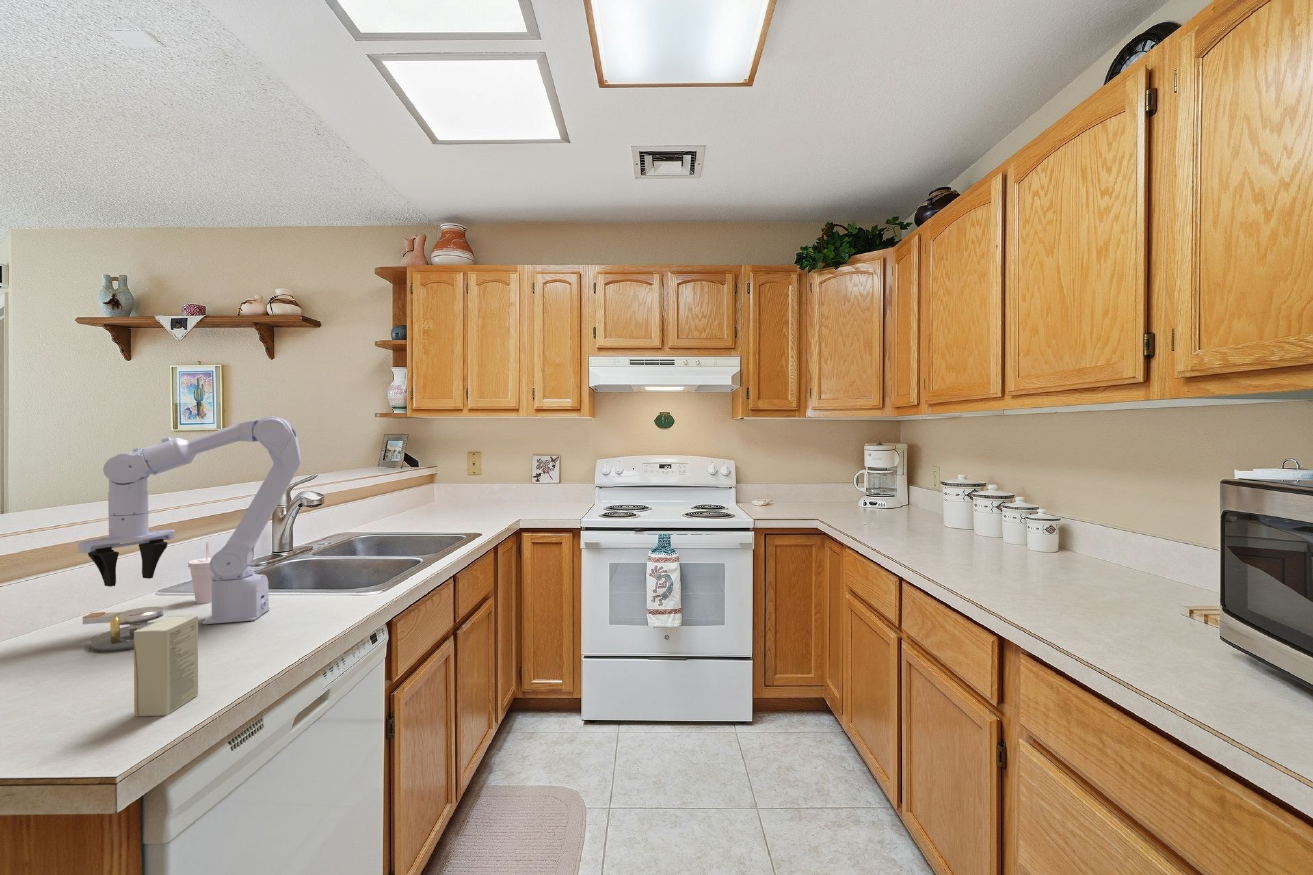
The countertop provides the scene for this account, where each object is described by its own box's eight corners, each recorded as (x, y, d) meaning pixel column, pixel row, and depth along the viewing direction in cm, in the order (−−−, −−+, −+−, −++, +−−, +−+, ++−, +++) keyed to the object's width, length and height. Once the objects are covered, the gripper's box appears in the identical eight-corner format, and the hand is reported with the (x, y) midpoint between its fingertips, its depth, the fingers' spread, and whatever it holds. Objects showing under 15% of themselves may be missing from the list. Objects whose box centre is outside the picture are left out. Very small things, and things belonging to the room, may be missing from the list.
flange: (171, 611, 109) (171, 604, 109) (148, 622, 102) (148, 615, 102) (101, 616, 106) (101, 609, 106) (73, 628, 99) (73, 621, 99)
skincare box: (168, 696, 81) (168, 615, 81) (200, 695, 82) (199, 614, 82) (132, 718, 75) (131, 630, 75) (166, 716, 75) (165, 629, 75)
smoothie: (203, 606, 124) (202, 545, 124) (180, 604, 125) (180, 544, 125) (230, 597, 130) (230, 539, 130) (208, 596, 132) (208, 538, 132)
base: (198, 624, 112) (197, 596, 112) (158, 648, 100) (157, 617, 100) (121, 630, 109) (121, 601, 109) (70, 655, 96) (70, 623, 96)
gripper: (159, 508, 116) (160, 571, 117) (67, 518, 103) (68, 589, 103) (180, 509, 114) (181, 574, 114) (90, 520, 100) (90, 593, 101)
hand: (129, 581), depth 108 cm, fingers open, 5 cm apart
